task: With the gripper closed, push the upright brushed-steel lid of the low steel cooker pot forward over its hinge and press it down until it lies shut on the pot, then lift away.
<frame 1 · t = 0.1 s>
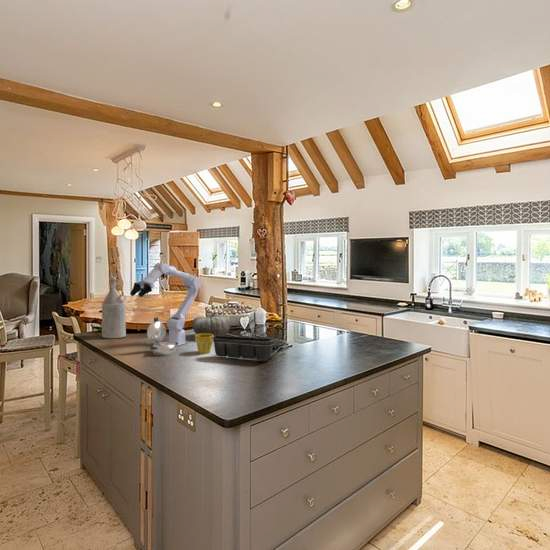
hand: (135, 295, 218), 32 cm above the counter, fingers open, 7 cm apart
grey bottle: (114, 337, 260), on the counter
gourd: (210, 337, 265), on the counter
cooker lid: (156, 330, 223), point 12 cm above the counter, hinge at 95.0°
dish rack: (252, 352, 226), on the counter
cooker pot: (164, 353, 219), on the counter
plant pot: (204, 352, 223), on the counter
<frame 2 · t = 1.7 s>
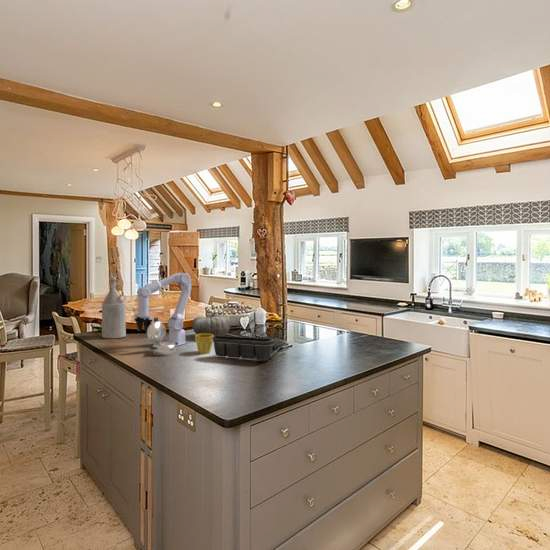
hand: (143, 330, 229), 10 cm above the counter, fingers open, 5 cm apart
nothing on the counter moved.
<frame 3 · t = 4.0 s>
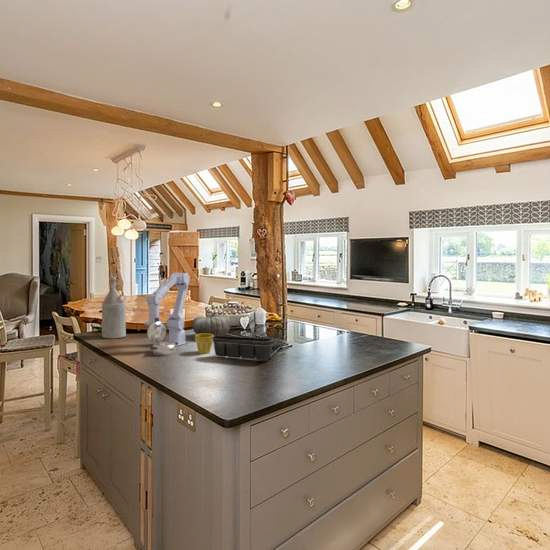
hand: (153, 338, 225), 7 cm above the counter, fingers closed
cooker lid: (156, 330, 223), point 12 cm above the counter, hinge at 92.5°, touching gripper
everything else where it was.
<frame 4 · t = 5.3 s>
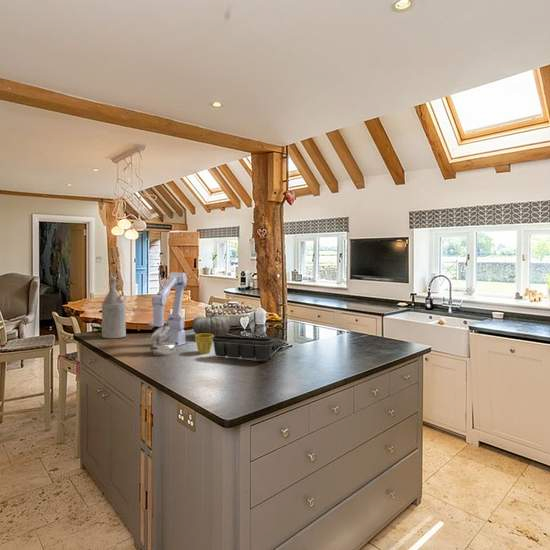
hand: (157, 340, 222), 7 cm above the counter, fingers closed, pressing on cooker lid
cooker lid: (161, 333, 220), point 11 cm above the counter, hinge at 53.8°, touching gripper
everything else where it was.
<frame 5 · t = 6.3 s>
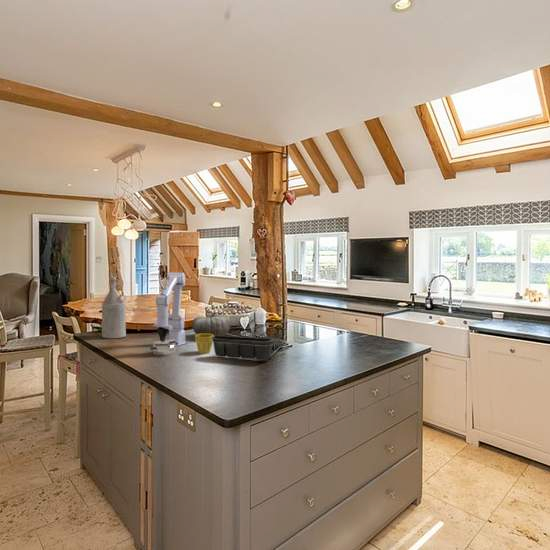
hand: (162, 340, 220), 7 cm above the counter, fingers closed, pressing on cooker lid
cooker lid: (165, 341, 218), point 6 cm above the counter, hinge at 7.9°, touching gripper
everything else where it was.
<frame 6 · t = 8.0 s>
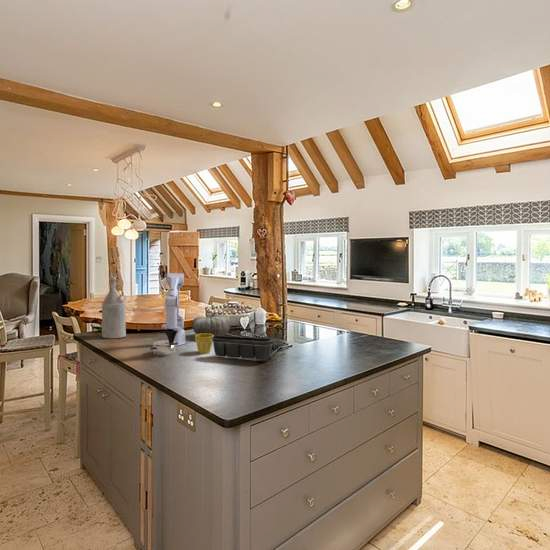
hand: (171, 343, 215), 7 cm above the counter, fingers closed, pressing on cooker lid
cooker lid: (165, 343, 218), point 6 cm above the counter, hinge at 3.1°, touching gripper
everything else where it was.
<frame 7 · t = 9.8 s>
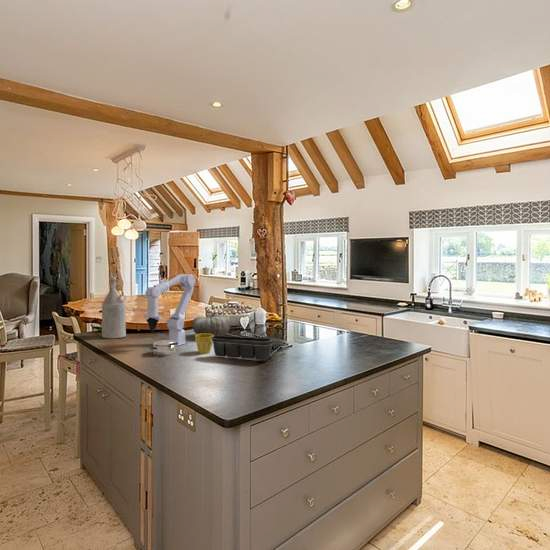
hand: (152, 331, 228), 10 cm above the counter, fingers closed
cooker lid: (165, 343, 218), point 6 cm above the counter, hinge at 3.1°
everything else where it was.
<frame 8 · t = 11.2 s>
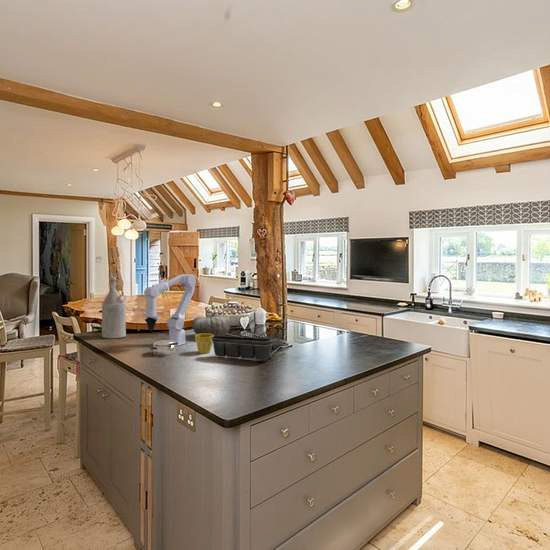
hand: (151, 330, 229), 10 cm above the counter, fingers closed
nothing on the counter moved.
at the end: cooker lid at +3° (first picture: +95°); plant pot moved 0.2 cm from its start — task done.
